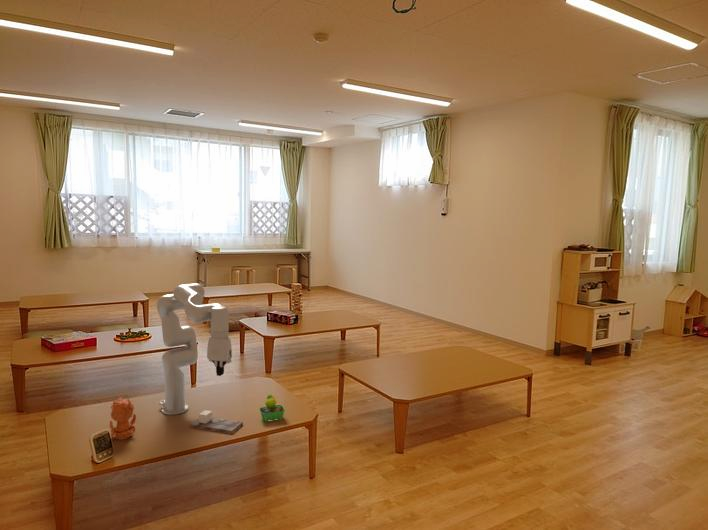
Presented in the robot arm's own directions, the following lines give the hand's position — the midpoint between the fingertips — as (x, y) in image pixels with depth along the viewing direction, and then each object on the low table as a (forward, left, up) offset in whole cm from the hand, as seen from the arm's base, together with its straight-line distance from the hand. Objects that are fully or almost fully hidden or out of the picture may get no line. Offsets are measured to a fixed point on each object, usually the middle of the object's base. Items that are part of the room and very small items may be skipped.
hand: (220, 374), depth 210 cm
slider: (-14, +10, -27) cm, 32 cm away
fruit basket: (+13, +26, -29) cm, 41 cm away
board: (-8, +10, -29) cm, 32 cm away
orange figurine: (-42, -12, -29) cm, 53 cm away
